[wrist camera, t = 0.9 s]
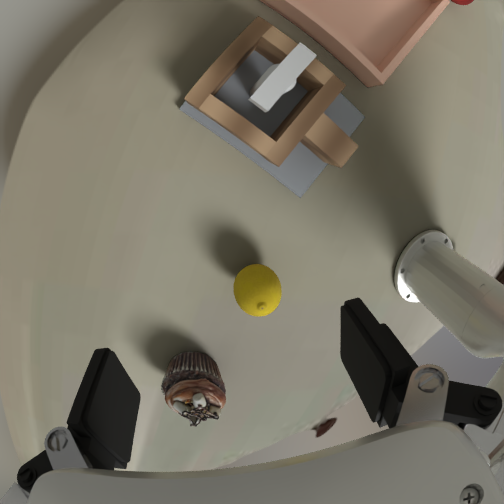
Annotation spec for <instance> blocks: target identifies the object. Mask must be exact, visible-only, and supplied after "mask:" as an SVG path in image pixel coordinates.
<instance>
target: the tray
mask: <svg viewBox="0 0 504 504" xmlns="http://www.w3.org/2000/svg"><path fill="white" fill-rule="evenodd" d="M259 1H261V2H263V3H264V4H266V5H267V6H269V7H270V8H272V9H273V10H275V11H276V12H278V13H279V14H281V15H282V16H284V17H285V18H286V19H288V20H289V21H291V22H292V23H293V24H295V25H296V26H297V27H299V28H300V29H301V30H303V31H304V32H305V33H307V34H308V35H309V36H310V37H312V38H313V39H314V40H315V41H317V42H318V43H319V44H320V45H322V46H323V47H324V48H325V49H326V50H327V51H329V52H330V53H331V54H332V55H333V56H334V57H336V58H337V59H338V60H339V61H340V62H341V63H342V64H343V65H344V66H345V67H347V68H348V69H349V70H350V71H351V72H352V73H353V74H354V75H355V76H356V77H357V78H358V79H359V80H360V81H361V82H362V83H363V84H364V85H365V86H366V87H367V88H368V87H373V86H378V85H383V84H384V83H385V81H386V80H387V79H388V78H389V76H390V75H391V74H392V73H393V71H394V70H395V69H396V68H397V67H398V65H399V64H400V63H401V62H402V60H403V59H404V58H405V57H406V55H407V54H408V53H409V52H410V50H411V49H412V48H413V47H414V46H415V44H416V43H417V42H418V41H419V39H420V38H421V37H422V36H423V35H424V33H425V32H426V31H427V30H428V28H429V27H430V26H431V25H432V23H433V22H434V21H435V20H436V19H437V17H438V16H439V15H440V14H441V12H442V11H443V10H444V9H445V8H446V6H447V5H448V4H449V3H450V1H449V0H259Z"/></svg>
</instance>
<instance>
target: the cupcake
mask: <svg viewBox="0 0 504 504" xmlns="http://www.w3.org/2000/svg"><path fill="white" fill-rule="evenodd" d="M161 387H162V388H161V390H162V393H164V394H163V395H165V401H166V403H167V404H168V406H169V407H170V408H171V409H172V410H173V411H175V412H176V413H178V414H180V415H181V416H183V417H185V418H187V419H189V421H190V426H197V425H198V424H199V423H200V422H201V420H202V421H206V420H207V418H213V419H218V418H219V416H220V414H221V409H222V408H223V406H224V405H225V403H226V396H225V392H226V390H225V386H224V383H223V380H222V378H221V375H220V372H219V369H218V366H217V364H216V362H215V361H214V360H212V358H211V357H209V356H208V355H206V354H203V353H200V352H184V353H180V354H179V355H176V356H174V357H173V358H172V360H171V361H170V363H169V366H168V368H167V371H166V373H165V376H164V378H163V380H162V385H161ZM204 418H205V419H204Z"/></svg>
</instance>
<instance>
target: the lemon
mask: <svg viewBox="0 0 504 504" xmlns="http://www.w3.org/2000/svg"><path fill="white" fill-rule="evenodd" d="M234 295H235V299H236V301H237V303H238V305H239V306H240V308H241V309H242V310H243V311H245V312H246V313H248V314H250V315H252V316H265V315H268V314H270V313H271V312H273V311H274V310H275V309H276V308H277V306H278V304H279V303H280V299H281V284H280V281H279V279H278V277H277V275H276V274H275V273H274V271H273V270H271V269H270V268H269V267H267V266H264V265H261V264H252V265H249V266H246V267H245V268H243V269H242V270H241V271H240V272H239V273H238V275H237V276H236V278H235V282H234Z"/></svg>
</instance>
